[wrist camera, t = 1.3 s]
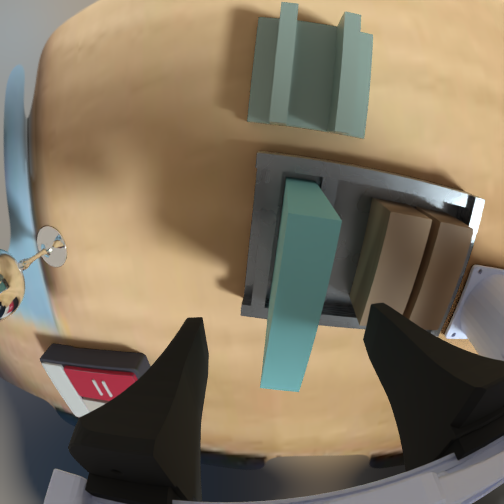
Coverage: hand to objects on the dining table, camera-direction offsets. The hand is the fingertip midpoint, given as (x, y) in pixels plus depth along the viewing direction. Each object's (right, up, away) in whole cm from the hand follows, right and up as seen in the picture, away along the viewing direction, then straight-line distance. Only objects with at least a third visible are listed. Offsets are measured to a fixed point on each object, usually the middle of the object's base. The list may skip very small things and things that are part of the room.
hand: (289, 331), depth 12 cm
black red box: (-19, -13, +20) cm, 31 cm away
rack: (+6, +4, +10) cm, 12 cm away
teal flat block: (+1, +4, +9) cm, 10 cm away
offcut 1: (+8, +3, +9) cm, 13 cm away
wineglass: (-22, +4, +13) cm, 26 cm away
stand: (+3, +16, +6) cm, 17 cm away
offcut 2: (+12, +3, +9) cm, 15 cm away
